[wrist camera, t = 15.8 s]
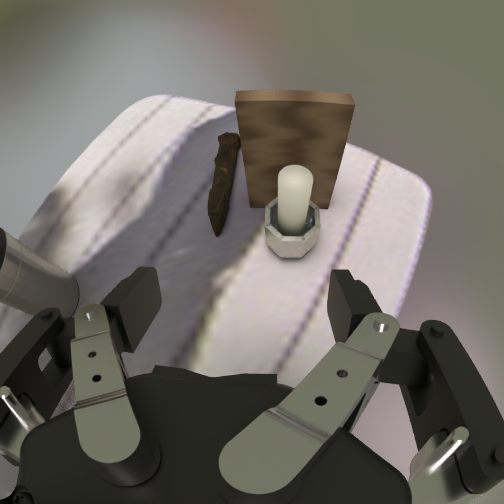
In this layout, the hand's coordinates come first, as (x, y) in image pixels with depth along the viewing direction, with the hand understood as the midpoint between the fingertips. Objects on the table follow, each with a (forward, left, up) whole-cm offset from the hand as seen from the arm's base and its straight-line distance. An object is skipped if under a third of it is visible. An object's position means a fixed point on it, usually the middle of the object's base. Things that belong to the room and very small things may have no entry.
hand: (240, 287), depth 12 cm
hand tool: (-6, +24, -25) cm, 35 cm away
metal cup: (+4, +15, -22) cm, 27 cm away
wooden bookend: (+4, +23, -24) cm, 34 cm away
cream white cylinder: (+3, +14, -22) cm, 26 cm away
